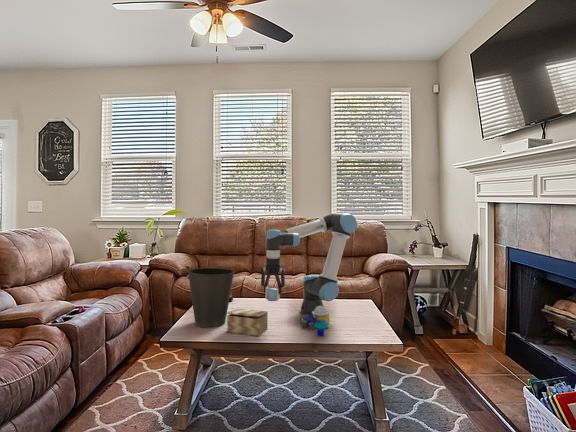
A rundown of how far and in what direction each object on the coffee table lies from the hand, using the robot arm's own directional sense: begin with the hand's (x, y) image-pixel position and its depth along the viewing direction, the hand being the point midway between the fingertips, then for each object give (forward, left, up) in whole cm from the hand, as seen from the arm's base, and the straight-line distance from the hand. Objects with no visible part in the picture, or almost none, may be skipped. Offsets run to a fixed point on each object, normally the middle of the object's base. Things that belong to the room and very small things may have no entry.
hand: (272, 298), depth 203 cm
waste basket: (+35, +7, -15) cm, 39 cm away
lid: (+10, +12, -6) cm, 16 cm away
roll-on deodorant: (0, 0, 0) cm, 0 cm away
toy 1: (-23, -9, -16) cm, 29 cm away
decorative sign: (+59, -38, -16) cm, 72 cm away
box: (+10, +12, -15) cm, 22 cm away
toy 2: (-28, +5, -15) cm, 32 cm away
